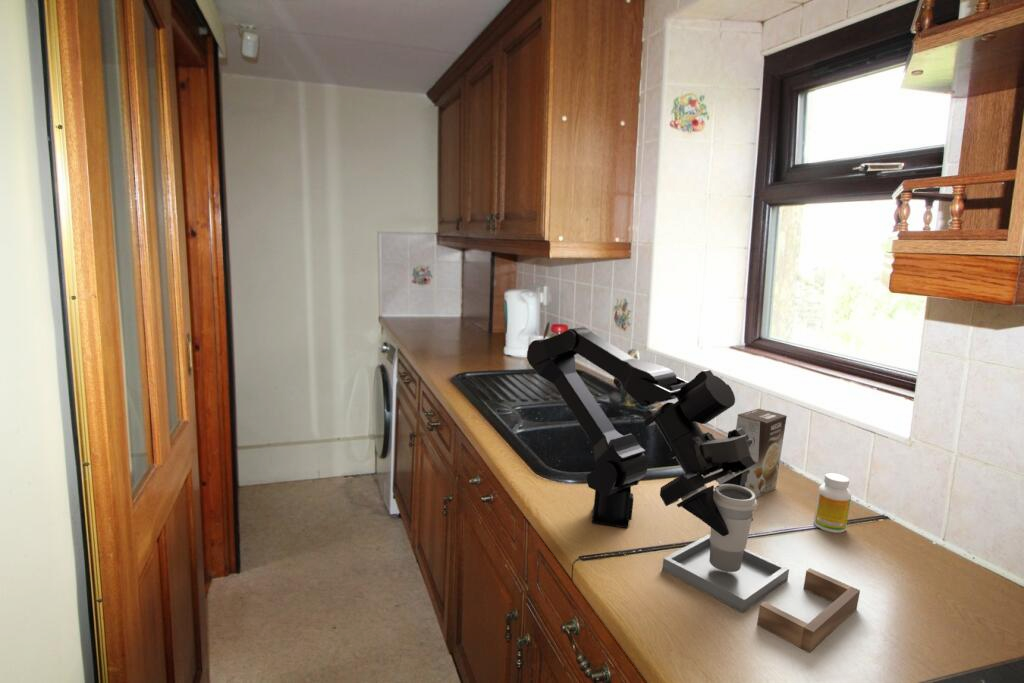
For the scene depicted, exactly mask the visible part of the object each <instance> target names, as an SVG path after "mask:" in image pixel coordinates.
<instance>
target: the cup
mask: <svg viewBox="0 0 1024 683" xmlns="http://www.w3.org/2000/svg"><path fill="white" fill-rule="evenodd" d="M714 488H715V489H714V492H713V500H714V502H715V504H716V506H717V508H718V510H719V512H720V514H721V516H722V518H723V520H724V522H725V524H726V526H727V529H728V531H729V534H728V535H726V536H722V535H720V534H719V533H718V532H716V531H715V530H714V529H712V528H711V527H710V533H709V534H710V542H711V546H710V559H709V561H710V563H711V565H712V566H714V567H715V568H717V569H719V570H722V571H726V572H736V571H738V570H740V568H741V563H742V558H743V554H744V550H745V549H747V544H748V538H749V534H750V530H751V524H752V522H753V521H752V518H753V516H754V515H753V510H755V509H756V508H757V507H758V501H757V498H755V494H754V492H752V491H751V490H749V489H748V488H745V487H743V486H739V485H734V484H721V485H719V484H718V485H716V486H714ZM751 521H752V522H751Z"/></svg>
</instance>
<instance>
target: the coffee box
mask: <svg viewBox="0 0 1024 683" xmlns="http://www.w3.org/2000/svg"><path fill="white" fill-rule="evenodd" d="M786 423H787V415H785V414H782V413H779V412H774V411H770V410H766V409H762V408H757V409H752V410H750V411H746V412H743V413H738V414H737V419H736V426H735V429H740V428H742V429H743V430H744V431H745V433H746V434H747V435H748V437H749V439H751V440H752V444H751V446H750V447H749V451H750V455H751V457H752V459H753V461H754V462H755V465H753V466H751V467H749V468H748V469H746V470H744V471H742V472H745V471H747V470H750V473H749V474H748V475H747V478H746V482H745V488H748V489H749V490H751V491H752V492H754V494H755V499H757V498H758V497H760V496H763V495H764V494H767V493H769V492H771V491H773V490H775V489H776V488H777V482H778V481H777V480H778V478H779V477H778V476H779V470H780V469H779V468H780V462H781V456H782V448H783V443H784V437H785V436H784V435H785V429H786Z"/></svg>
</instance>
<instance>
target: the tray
mask: <svg viewBox="0 0 1024 683" xmlns="http://www.w3.org/2000/svg"><path fill="white" fill-rule="evenodd" d="M710 546H711V542H710V533H709V534H707V535H705V536H702V537H701V538H699V539H698V540H695V541H693V542H691V543H690V544H688V545H686V546H684V547H682V548H680V549H677V551H674V552H672V553H670V554H668V555H666V556H665V557H663V560H662V571H664V572H665V573H668V574H669V575H671V576H673V577H674V578H676V579H678V580H680V581H683V582H685V583H686V584H688V585H690V586H692V587H694V588H695V589H697V590H699V591H701V592H703V593H705V594H707V595H708V596H711V597H712V598H714V599H716V600H718V601H720V602H722V603H724V604H726V605H728V606H729V607H731V608H732V609H735V610H737V611H738V612H741V613H744V612H746V611H748V610H749V609H750V608H752V607H753V606H754V605H755V604H757V603H758V602H760V601H761V600H763V599H764V598H765V597H767V596H768V595H769V594H770V593H772V592H774V591H775V590H776V589H778V588H779V587H780V586H782V585H783V584H785V583H786V582H787V581H788V579H789V573H790V572H789V571H790V568H789V567H787V566H785V565H783V564H780V563H778V562H776V561H774V560H771V559H769V558H767V557H765V556H763V555H760V554H758V553H756V552H754V551H752V550H749V549H747V548H745V550H744V554H743V558H742V563H741V568H740V570H738V571H736V572H726V571H722V570H719V569H717V568H715V567H714V566H712V565H711V563H710V561H709V559H710Z"/></svg>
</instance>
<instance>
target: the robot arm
mask: <svg viewBox="0 0 1024 683" xmlns="http://www.w3.org/2000/svg"><path fill="white" fill-rule="evenodd" d="M576 355H579V356H581V357H582V358H584V359H585V360H587V361H588V362H590V363H591V364H593V365H595V366H596V367H598V368H600V369H601V370H602V371H604V372H605V373H607V374H608V375H610V376H612V377H614V378H615V379H616V380H617V381H619V383H620V384H621V386H622V388H623V390H624V392H625V393H626V394H627V395H629V396H630V397H631V399H633V400H634V401H635V402H636V403H637V404H639V405H641V406H645V407H646V406H647V407H648V406H652V405H656V404H661V403H664V404H663V405H661V406H660V407H658V408H652V409H651V408H650V409H648V410H646V417H645V419H644V422H643V426H644V427H645V428H647V427H650V426H654V425H656V426H657V428H658V430H660V433H661V434H662V437H663V438H664V439H665V441H666V443H667V445H668V447H669V448H670V450H671V451H670V452H668V453H667V457H668V458H669V460H672V459H673V460H674V459H676V461H677V463H678V464H679V466H680V467H681V470H682V471H683V473H682V474H681V475H679V476H678V477H675V478H674V479H672V480H671V481H669V482H667V483H665V484H664V485H662V486H661V487H660V488H659V489H660V491H659V496H660V498H661V500H662V501H663V504H664V506H665V507H668V506H671V505H672V504H675V503H677V502H678V501H679V500H680V499H681V501H680V502H678V503H677V504H676V507H678V508H682V509H684V510H686V511H687V512H688V513H690V514H691V515H693V516H694V517H696V518H698V519H699V520H700V521H702V522H703V523H704V524H706V525H707V526H709V527H710V529H711V528H712V529H714V530H715V531H716V532H718V533H719V534H720V535H722V536H726V535H728V534H729V531H728V529H727V526H726V524H725V522H724V520H723V518H722V516H721V514H720V512H719V510H718V508H717V506H716V504H715V502H714V500H713V492H714V490H715V486H714V484H712V485H711V486H709V487H707V484H709V483H712V482H717V483H718V485H721V484H734V485H739V486H743V487H745V482H746V478H747V475H748V474H749V473H750V470H747V471H745V472H742V471H744V470H746V469H748V468H749V467H751V466H753V465H755V462H754V461H753V459H752V457H751V455H750V451H749V447H750V446H751V444H752V440H751V439H749V437H748V435H747V434H746V433H745V431H744V430H743V429H742V428H740V429H736V428H735V429H732V430H729V431H728V433H727V437H723V438H720V439H719V438H718V439H716V438H715V436H714V435H713V434H712V433H710V432H709V431H707V432H706V433H704V431H702V429H701V427H700V426H699V424H700V425H705V424H708V423H710V422H711V421H712V420H714V419H715V418H717V417H718V416H720V415H721V414H723V413H724V412H726V411H727V410H729V409H730V408H732V407H733V406H734V405H735V404H736V396H735V394H734V391H733V389H732V387H731V386H730V385H729V384H727V383H726V381H724V380H723V379H722V378H721V377H719V376H717V375H714V373H713V372H712V370H711V369H705V370H701V371H700V372H699V373H697V374H696V375H695V376H694V378H692V379H691V380H690V381H688V380H685V379H683V378H681V377H678V376H677V374H676V373H675V371H673V370H672V369H670V368H669V367H666V366H664V365H661V364H658V363H655V362H650V361H646V360H641V359H638V358H635V357H633V356H632V355H631V354H629V353H627V352H625V351H623V350H622V349H620V348H618V347H617V346H615V345H613V344H612V343H610V342H608V341H607V340H605V339H603V338H602V337H600V336H598V335H596V334H595V333H593V331H592V330H591V329H589V328H587V327H585V326H582V327H577V328H576V327H575V328H568V329H566V330H565V331H563V332H561V333H559V334H556V335H554V336H551V337H547V338H541V339H535V340H532V341H531V342H530V343H529V345H528V348H527V351H526V359H527V362H528V364H529V365H530V367H531V368H532V369H533V370H534V371H535V373H536V374H537V375H538V376H539V377H541V378H542V379H545V381H548V382H549V383H550V384H552V385H553V386H554V387H555V389H556V390H557V392H558V393H559V395H560V396H561V398H562V399H563V401H564V403H565V404H566V405H567V407H568V409H569V410H570V412H571V414H572V415H573V416H574V418H575V419H576V421H577V422H578V424H579V425H580V428H581V429H582V430H583V431H584V433H585V435H586V436H587V438H588V440H589V441H590V442H591V444H592V446H593V453H594V455H593V456H594V464H595V465H596V468H595V469H594V470H592V471H591V472H590V473H588V474H587V475H586V481H587V487H588V488H589V489H591V490H594V498H593V499H594V502H593V506H592V516H591V523H593V524H597V525H606V526H613V527H614V526H615V527H620V528H621V527H622V528H629V527H630V521H631V520H632V517H633V508H634V507H633V506H634V494H633V492H632V489H631V487H633V486H637V485H639V482H640V481H641V479H643V478H644V477H645V476H646V474H647V471H648V465H649V462H648V459H647V458H648V457H647V456H646V454H645V453H646V449H644V448H643V447H642V446H641V445H640V444H639V442H638V440H637V438H636V437H635V434H633V433H628V434H625V435H623V434H621V433H620V432H618V430H616V429H615V426H614V425H613V424H612V422H611V421H610V419H609V418H608V416H607V415H606V414H605V412H604V410H603V409H602V407H601V406H600V405H599V403H598V402H597V400H596V398H595V397H594V395H593V394H592V393H591V391H590V389H588V387H587V385H586V384H585V382H584V381H583V380H582V378H581V376H580V375H579V374H578V372H577V369H576V357H575V356H576ZM676 399H677V401H676V402H668V401H671V400H676ZM665 402H666V403H665ZM753 521H754V518H753V517H752V521H751V523H752V522H753Z"/></svg>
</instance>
